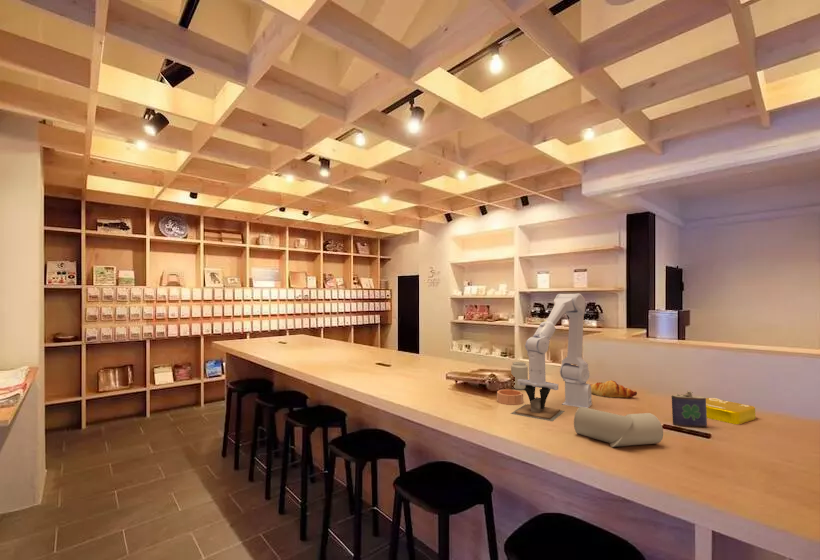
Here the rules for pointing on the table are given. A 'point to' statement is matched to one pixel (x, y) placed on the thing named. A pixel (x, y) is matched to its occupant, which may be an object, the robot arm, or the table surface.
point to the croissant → (611, 390)
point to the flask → (689, 410)
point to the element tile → (729, 411)
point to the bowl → (510, 397)
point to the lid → (537, 410)
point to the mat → (540, 418)
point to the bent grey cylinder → (618, 427)
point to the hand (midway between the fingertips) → (537, 407)
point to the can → (519, 373)
